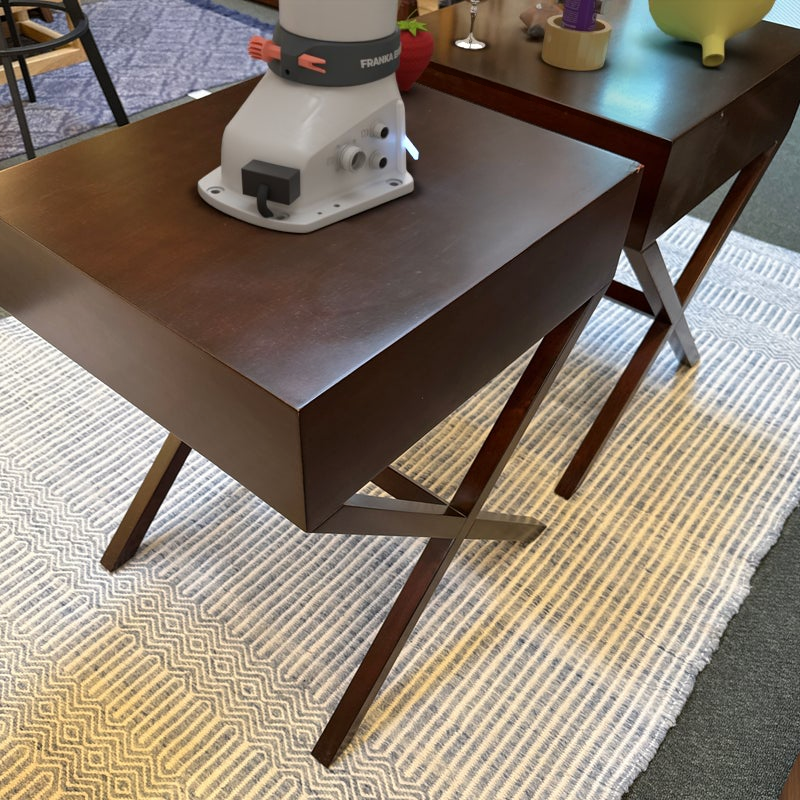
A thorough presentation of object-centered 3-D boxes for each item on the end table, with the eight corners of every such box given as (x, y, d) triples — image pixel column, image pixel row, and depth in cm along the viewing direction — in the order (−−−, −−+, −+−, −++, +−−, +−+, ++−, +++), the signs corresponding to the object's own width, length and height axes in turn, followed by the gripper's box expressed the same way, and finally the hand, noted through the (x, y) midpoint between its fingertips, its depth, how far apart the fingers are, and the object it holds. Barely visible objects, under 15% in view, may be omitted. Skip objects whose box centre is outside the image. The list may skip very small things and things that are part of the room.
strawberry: (439, 87, 109) (447, 5, 103) (413, 104, 104) (419, 19, 97) (399, 78, 111) (404, -4, 105) (371, 94, 106) (375, 9, 99)
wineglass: (466, 36, 127) (475, -53, 120) (497, 45, 124) (509, -45, 117) (442, 43, 124) (450, -48, 116) (474, 53, 121) (484, -39, 113)
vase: (726, -125, 113) (728, -3, 109) (806, -61, 123) (810, 54, 119) (623, -45, 129) (620, 65, 124) (700, 6, 138) (701, 110, 134)
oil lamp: (502, 34, 132) (533, 49, 127) (503, 7, 129) (535, 22, 124) (547, 20, 135) (579, 35, 130) (549, -6, 132) (582, 8, 127)
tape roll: (588, 75, 116) (596, 37, 113) (530, 60, 120) (536, 23, 117) (613, 60, 122) (621, 23, 119) (557, 46, 126) (563, 10, 123)
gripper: (519, -116, 110) (504, -2, 119) (669, -91, 102) (641, 29, 111) (540, -120, 114) (525, -10, 123) (686, -96, 106) (658, 19, 115)
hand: (581, 9), depth 117 cm, fingers closed on container, 4 cm apart
